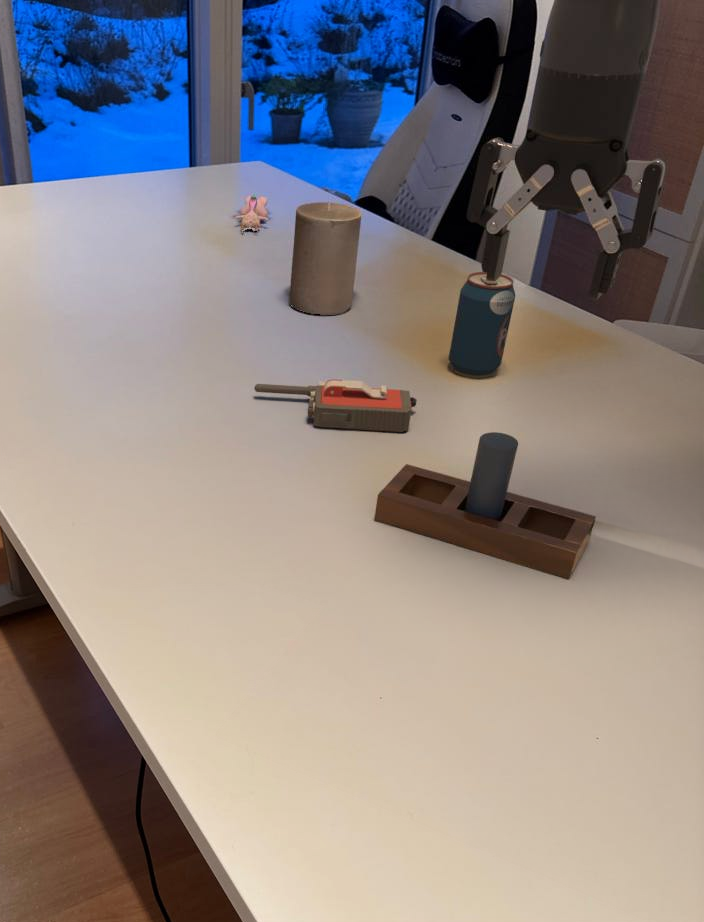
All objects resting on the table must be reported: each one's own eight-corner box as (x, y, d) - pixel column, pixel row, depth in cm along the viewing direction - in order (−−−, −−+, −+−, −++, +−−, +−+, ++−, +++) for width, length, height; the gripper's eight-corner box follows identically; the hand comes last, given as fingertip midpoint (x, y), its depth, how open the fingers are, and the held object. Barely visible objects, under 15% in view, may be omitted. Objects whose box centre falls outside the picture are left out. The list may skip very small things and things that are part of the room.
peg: (501, 527, 97) (523, 438, 91) (490, 544, 95) (511, 452, 88) (467, 517, 98) (486, 428, 92) (455, 533, 96) (474, 443, 90)
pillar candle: (280, 297, 149) (286, 194, 140) (337, 292, 152) (347, 190, 142) (303, 318, 142) (311, 212, 133) (362, 313, 145) (374, 207, 135)
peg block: (402, 488, 103) (406, 463, 101) (588, 542, 95) (596, 516, 93) (374, 520, 98) (377, 494, 96) (568, 579, 90) (577, 552, 88)
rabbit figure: (265, 243, 176) (273, 207, 186) (266, 210, 172) (275, 176, 182) (232, 240, 176) (241, 205, 186) (232, 208, 172) (242, 174, 182)
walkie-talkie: (413, 403, 120) (254, 394, 121) (418, 370, 117) (256, 360, 118) (418, 435, 113) (249, 424, 114) (424, 400, 110) (251, 389, 111)
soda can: (505, 379, 126) (525, 288, 119) (454, 379, 126) (471, 287, 118) (490, 359, 132) (509, 270, 124) (441, 359, 131) (456, 270, 124)
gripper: (704, 65, 69) (640, 290, 79) (512, 48, 75) (475, 261, 85) (686, 78, 64) (620, 317, 74) (482, 59, 70) (445, 284, 80)
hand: (542, 287), depth 80 cm, fingers open, 8 cm apart
